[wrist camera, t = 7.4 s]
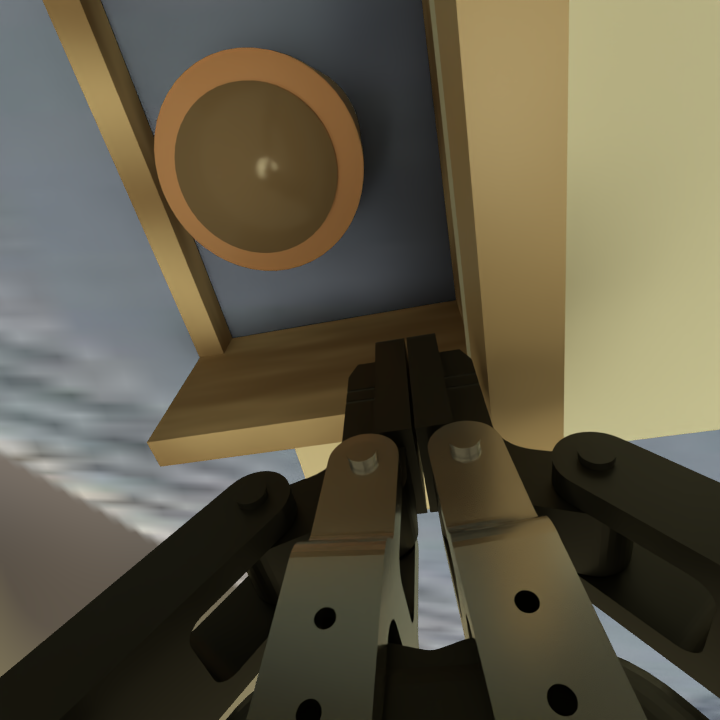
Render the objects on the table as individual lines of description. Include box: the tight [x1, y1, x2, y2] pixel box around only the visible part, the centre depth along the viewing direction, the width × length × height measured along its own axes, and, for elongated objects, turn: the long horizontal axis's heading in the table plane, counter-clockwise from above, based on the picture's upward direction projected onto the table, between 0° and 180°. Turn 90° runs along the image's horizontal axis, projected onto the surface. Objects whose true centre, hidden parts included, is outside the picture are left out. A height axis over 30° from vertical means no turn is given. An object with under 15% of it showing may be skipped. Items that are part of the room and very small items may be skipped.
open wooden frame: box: [43, 0, 467, 466], centre depth 15 cm, size 18×28×8 cm, turn 102°
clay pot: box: [154, 48, 364, 271], centre depth 16 cm, size 6×6×7 cm
